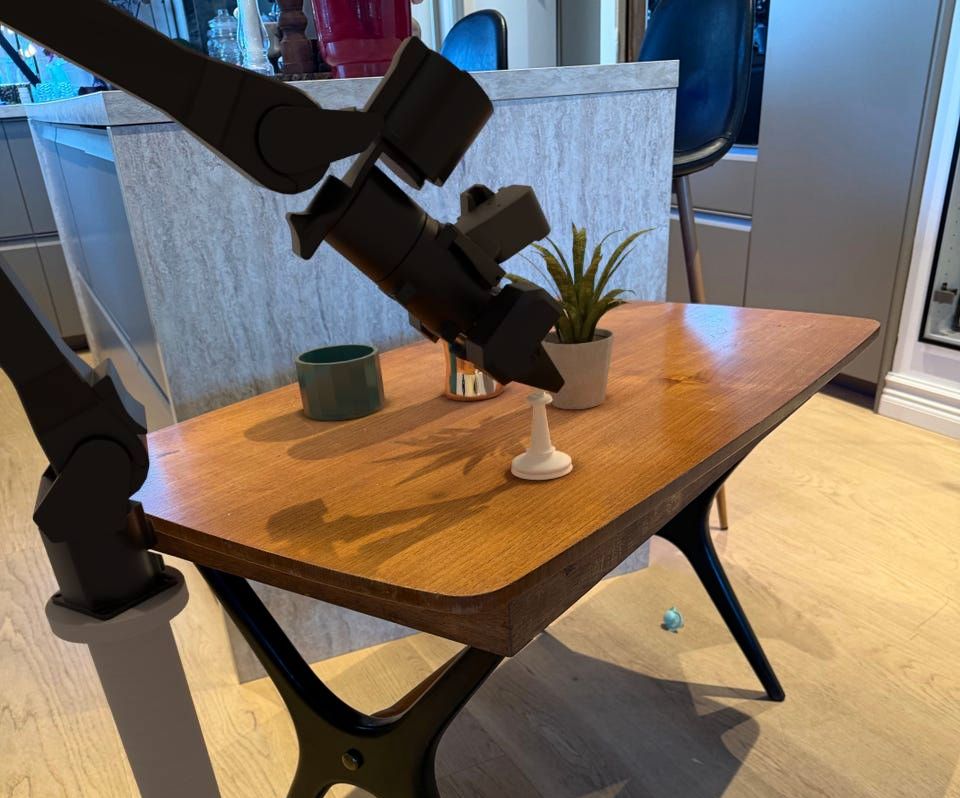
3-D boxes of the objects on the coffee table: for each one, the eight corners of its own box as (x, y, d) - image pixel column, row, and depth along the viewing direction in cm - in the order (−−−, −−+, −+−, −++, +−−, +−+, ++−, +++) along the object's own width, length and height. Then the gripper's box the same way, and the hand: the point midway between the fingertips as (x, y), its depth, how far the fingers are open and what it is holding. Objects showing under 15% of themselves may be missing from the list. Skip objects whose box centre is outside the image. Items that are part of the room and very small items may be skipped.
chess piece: (506, 480, 70) (498, 350, 65) (515, 459, 74) (508, 335, 69) (569, 480, 69) (565, 348, 64) (575, 458, 73) (572, 332, 68)
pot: (349, 424, 86) (340, 367, 84) (287, 416, 91) (276, 361, 88) (401, 400, 92) (394, 346, 89) (341, 393, 96) (333, 341, 94)
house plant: (614, 371, 96) (614, 202, 87) (688, 400, 84) (695, 210, 76) (492, 395, 91) (479, 220, 83) (552, 429, 80) (545, 231, 72)
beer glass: (433, 390, 95) (417, 236, 87) (495, 380, 96) (485, 228, 89) (451, 406, 89) (435, 243, 81) (517, 395, 90) (507, 234, 83)
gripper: (525, 142, 51) (686, 316, 59) (430, 143, 66) (569, 280, 75) (409, 306, 53) (581, 451, 61) (343, 269, 68) (488, 390, 77)
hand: (554, 384), depth 69 cm, fingers closed on chess piece
